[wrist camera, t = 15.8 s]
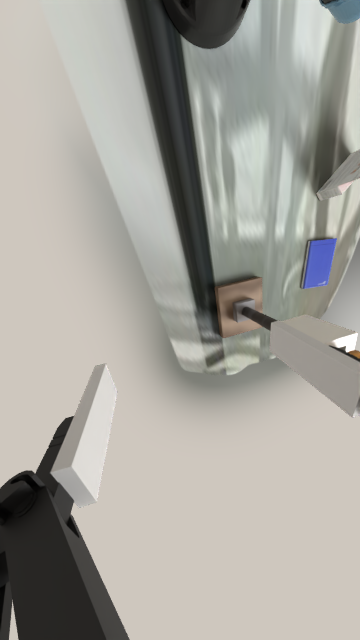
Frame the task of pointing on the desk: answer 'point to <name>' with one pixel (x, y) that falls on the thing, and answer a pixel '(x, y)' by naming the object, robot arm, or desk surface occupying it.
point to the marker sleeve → (324, 332)
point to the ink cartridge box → (341, 177)
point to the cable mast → (243, 308)
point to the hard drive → (318, 263)
